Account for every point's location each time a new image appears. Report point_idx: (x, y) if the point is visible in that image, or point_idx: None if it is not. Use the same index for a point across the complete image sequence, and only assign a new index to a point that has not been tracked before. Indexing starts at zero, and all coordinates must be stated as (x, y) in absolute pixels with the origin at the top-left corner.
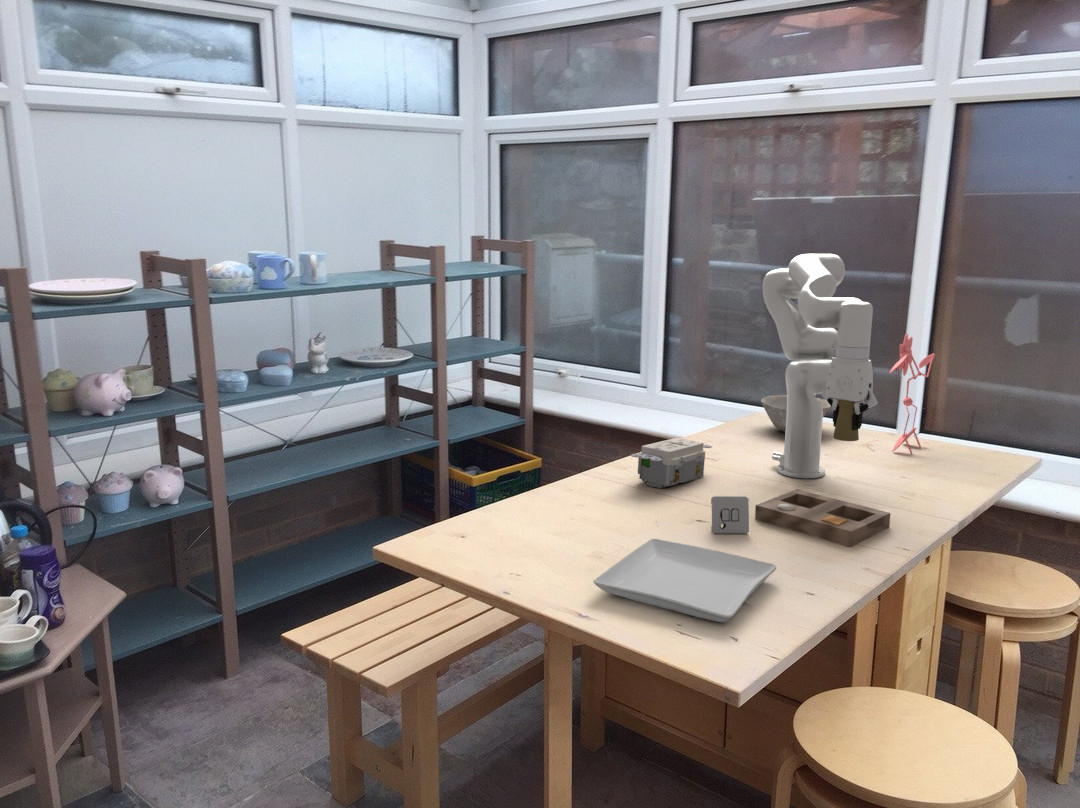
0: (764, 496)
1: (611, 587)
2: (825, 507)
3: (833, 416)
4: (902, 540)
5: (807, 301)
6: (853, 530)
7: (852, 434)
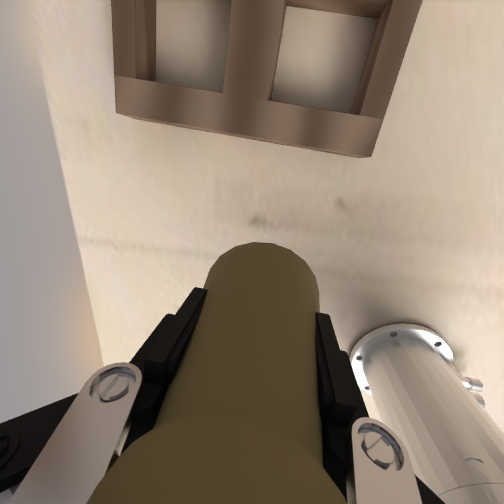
0: (445, 156)
1: None
2: (253, 30)
3: (352, 378)
4: (81, 45)
5: None
6: None
7: (211, 276)
